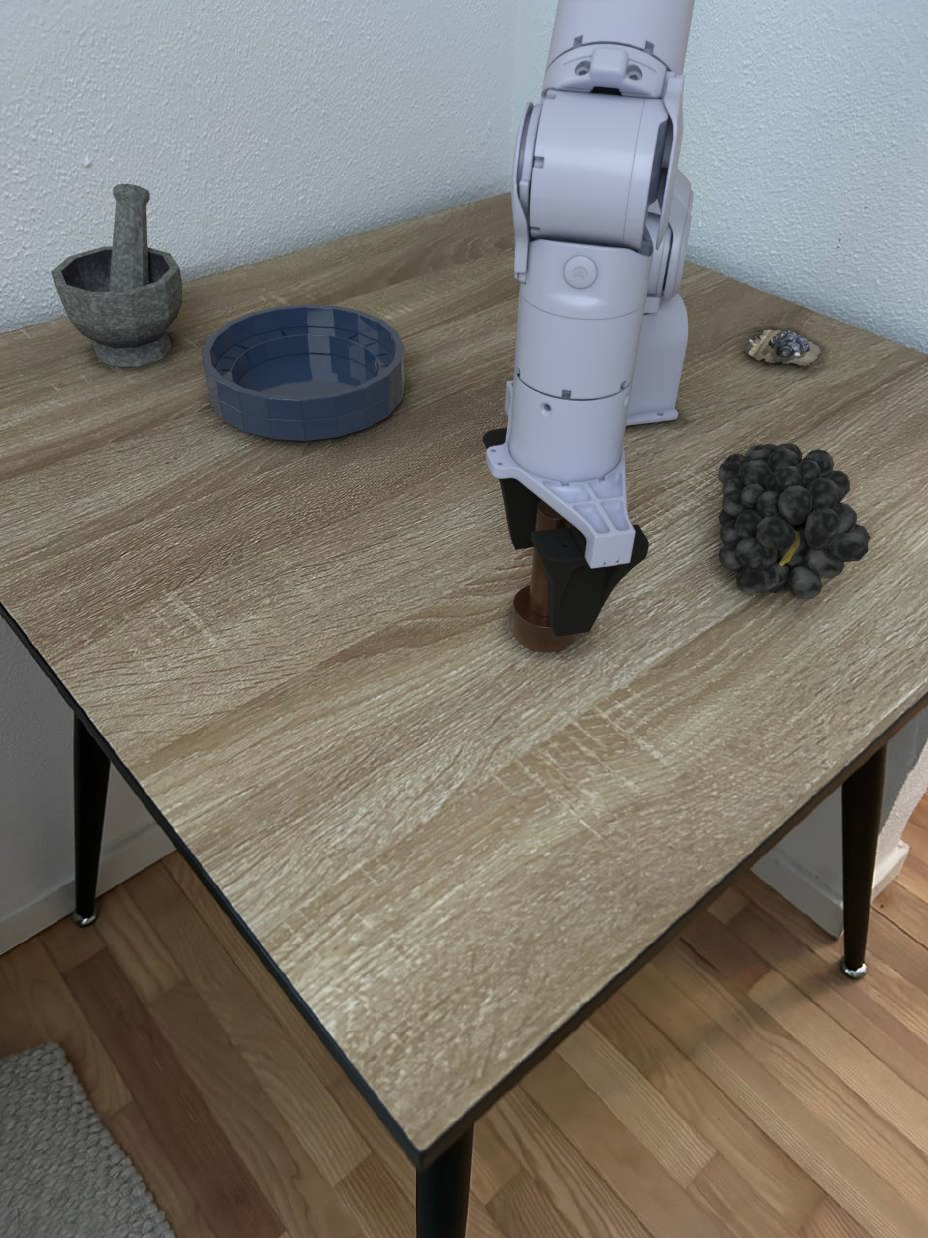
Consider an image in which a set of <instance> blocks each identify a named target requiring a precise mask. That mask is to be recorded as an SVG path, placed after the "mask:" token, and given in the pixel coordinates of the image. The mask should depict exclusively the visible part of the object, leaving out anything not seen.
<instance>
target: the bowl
mask: <svg viewBox="0 0 928 1238" xmlns="http://www.w3.org/2000/svg"><path fill="white" fill-rule="evenodd" d="M201 357H202V365H203V371H204V375H205V382H206V389H207V395H208V399H209V405H210V407H211V408H212V410H214V412H215V413H216V414H217V415H218V417H219V418H220V419H221V420H222V422H225V423H227V424H228V425H231V426H232V427H234V428H236V429H238V430H240V431H242V432H244V433H247V434H252V435H256V436H259V437H264V438H268V439H273V440H281V441H282V440H283V441H298V442H309V441H316V440H325V439H334V438H339V437H343V436H346V435H349V434H352V433H356V432H359V431H362V430H365V429H368V428H370V427H372V426H373V425H375V424H378V422H380V421H383V420H384V419H386V418H387V417H389V416H390V415H391V414H392V413H393V412H394V410H395V409H396V408H397V407H398V406H399V404H401V402H402V401H403V396H404V393H405V389H406V388H405V387H406V367H405V365H406V364H405V361H406V359H405V345H404V342H403V341H402V338H401V336H400V334H399V331H397V330H396V329H395V328H393V326H392V325H390V324H388V323H387V321H385V320H384V319H383V318H382V319H381V318H379V317H377V316H374V315H372V314H371V313H368V312H365V311H363V310H359V309H354V308H349V307H345V306H340V305H333V304H332V305H331V304H313V303H312V304H311V303H301V304H291V305H290V304H289V305H280V306H279V305H278V306H274V307H269V308H264V309H259V310H257V311H253V312H248V313H246V314H244V315H241V316H240V317H236V318H234V319H232V320H230V321H228V322H226V323H225V324H223V325H222V326H221V327H219V328H218V329H217V330H215V331H214V332H213V333H212V334H210V335H209V337H208V338H207V340H206V343H205V344H204V346H203V348H202V349H201Z"/></svg>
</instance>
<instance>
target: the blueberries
mask: <svg viewBox="0 0 928 1238" xmlns="http://www.w3.org/2000/svg"><path fill="white" fill-rule="evenodd" d="M754 337H755V340H753V339H751V338H749V344H748V345H747V346H745V347H744V349H743V352H744V353H746V354H747V355H749V356H750V357H752V358H753V359H755V361H758V362H759V361H761V360H764V361H765V363H769V364H773V363H774V364H775V363H782V365H785V364H787V365H790V364H795V365H798V366H802V367H806V366H808V367H809V366H811V365H810V364H811V363H814V362H816V360H817V358H819V356H820V354H821V353H822V349H821V348H820V346H818V345H817V344H815V343H813V341H809V340H808V339H807V338H806V337H804V336H803V335H802V334H799V333H796V332H794V331H793V330H791V329H788V328H786V329H782V330H781V329H777V330H774V329H766V330H763V331H762V334H758V337H759V338H760V339H759V338H758V337H757V336H754Z"/></svg>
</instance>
